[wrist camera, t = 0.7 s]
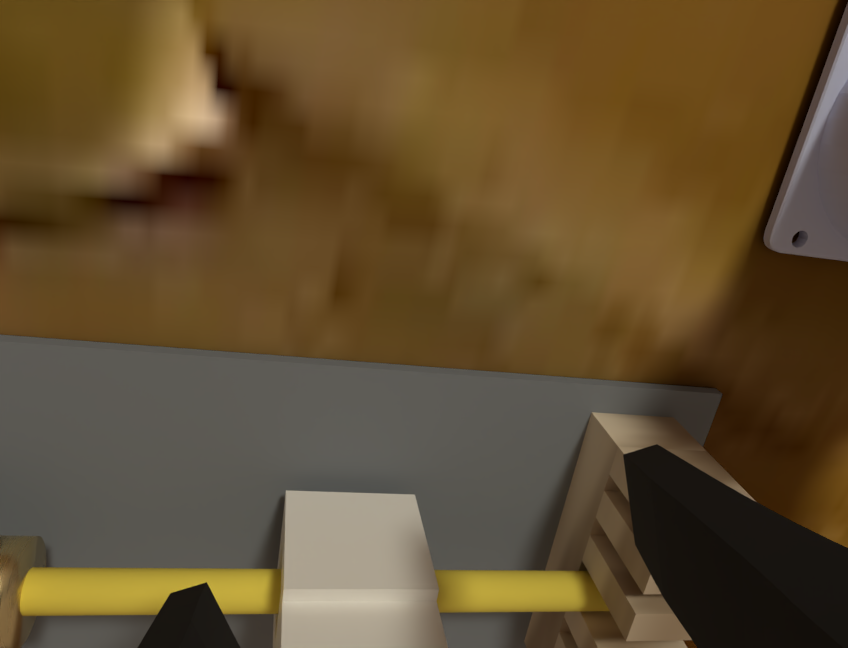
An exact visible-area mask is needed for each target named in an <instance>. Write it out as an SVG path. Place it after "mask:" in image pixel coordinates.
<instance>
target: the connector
mask: <svg viewBox="0 0 848 648" xmlns="http://www.w3.org/2000/svg"><path fill="white" fill-rule="evenodd" d="M32 567H46V548H45V543H44V540H43V539H42V537H40V536H9V535H0V648H21V647H22V645H23V644H24V643H25V641H26V640H27V638H28V636H29V634H30V632H31V630H32V627H33V625H34V622H35V619H36V616H22V615H21V612H20V599H21V592H22V588H23V584H24V581H25V578H26V575H27V573H28V571H29V570H30V569H31V568H32Z"/></svg>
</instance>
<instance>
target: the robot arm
mask: <svg viewBox="0 0 848 648" xmlns="http://www.w3.org/2000/svg"><path fill="white" fill-rule="evenodd" d="M797 232H799V237H798V238H797V240H796V241H795V242H793V243H792V238H793V236H794V235H795V234H796V233H797ZM763 239H764V244H765V245H766V246H767V248H769V249H771V250H773V251H776V252H779V253H785V254H793V255H801V256H809V257H816V258H824V259H832V260H840V261H848V3H847V5H846V8H845V11H844V14H843V16H842V19H841V22H840V25H839V28H838V30H837V33H836V36H835V39H834V41H833V44H832V47H831V50H830V52H829V55H828V58H827V61H826V63H825V66H824V69H823V72H822V75H821V77H820V80H819V83H818V86H817V88H816V91H815V94H814V97H813V99H812V102H811V105H810V108H809V110H808V113H807V116H806V119H805V121H804V124H803V127H802V130H801V133H800V135H799V138H798V141H797V144H796V146H795V149H794V152H793V155H792V157H791V160H790V163H789V166H788V168H787V171H786V174H785V177H784V180H783V182H782V185H781V188H780V191H779V193H778V196H777V199H776V202H775V204H774V207H773V210H772V213H771V215H770V218H769V221H768V224H767V227H766V229H765V232H764V237H763ZM623 458H624V466H625V473H626V481H627V488H628V496H629V503H630V511H631V518H632V526H633V533H634V541H635V545H636V547H637V549H638V551H639V553H640V555H641V557H642V559H643V561H644V563H645V565H646V566H647V568H648V570H649V572H650V574H651V576H652V578H653V580H654V581H655V583H656V585H657V587H658V589H659V591H660V592H661V594H662V596H663V598H664V599H665V601H666V602H667V604H668V605H669V607H670V608H671V610H672V611H673V613H674V614H675V616H676V617H677V619H678V620H679V621H680V623H681V624H682V626H683V627H684V629H685V630H686V632H687V633H688V635H689V636H690V637H691V639H692V640H693V642H694V643H695V645H696V646H697V648H848V548H846V547H844V546H842V545H840V544H838V543H836V542H833V541H831V540H829V539H827V538H825V537H823V536H821V535H819V534H817V533H815V532H813V531H811V530H809V529H807V528H805V527H803V526H801V525H798V524H796V523H795V522H793V521H791V520H789V519H787V518H785V517H783V516H781V515H779V514H777V513H776V512H774V511H772V510H770V509H768V508H766V507H765V506H763V505H761V504H759V503H757V502H755V501H754V500H752V499H750V498H748V497H746V496H744V495H743V494H741V493H739V492H737V491H736V490H734V489H732V488H730V487H729V486H727V485H725V484H724V483H722V482H720V481H719V480H717V479H715V478H713V477H712V476H710V475H708V474H707V473H705V472H703V471H702V470H700V469H698V468H697V467H695V466H693V465H692V464H690V463H688V462H687V461H685V460H683V459H681V458H680V457H678V456H676V455H675V454H673V453H671V452H670V451H668V450H666V449H665V448H663V447H661V446H659V445H658V444H656V445H653V446H649V447H646V448H643V449H640V450H636V451H633V452H630V453H627V454H623ZM138 648H240V646H239V644H238V642H237V640H236V638H235V636H234V634H233V632H232V630H231V628H230V626H229V624H228V623H227V621H226V619H225V617H224V615H223V613H222V611H221V609H220V607H219V605H218V603H217V601H216V599H215V597H214V595H213V593H212V591H211V589H210V587H209V585H208V584H207V582H206V583H202V584H199V585H196V586H192V587H189V588H186V589H183V590H179V591H176V592H173V593H170V595H169V596H168V598H167V600H166V601H165V603H164V604H163V606H162V608H161V609H160V611H159V613H158V614H157V616H156V618H155V619H154V621H153V623H152V624H151V626H150V628H149V629H148V631H147V633H146V634H145V636H144V638H143V639H142V641H141V643H140V644H139V646H138Z"/></svg>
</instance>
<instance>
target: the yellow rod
mask: <svg viewBox="0 0 848 648" xmlns="http://www.w3.org/2000/svg"><path fill="white" fill-rule="evenodd" d="M281 570H282V569H227V568H72V567H32V568H31V569H30V570H29V571H28V573H27V575H26V578H25V581H24V584H23V588H22V592H21V599H20V612H21V615H22V616H84V615H157V614H158V613H159V611H160V609H161V608H162V606H163V604H164V603H165V601H166V600H167V598H168V596H169V595H170V593H173V592H176V591H179V590H183V589H186V588H189V587H192V586H196V585H199V584H202V583H206V582H207V584H208V585H209V587H210V589H211V591H212V593H213V595H214V597H215V599H216V601H217V603H218V605H219V607H220V609H221V611H222V613H223V614H278V612H279V603H280V594H281ZM434 571H435V575H436V579H437V583H438V587H439V592H438V597H437V605H438V609H439V613H456V612H581V611H609V609H608V607H607V605H606V604H605V602H604V600H603V598H602V596H601V594H600V592H599V591H598V589H597V587H596V585H595V583H594V581H593V580H592V578H591V576H590V574H589V572H588V571H537V570H434Z"/></svg>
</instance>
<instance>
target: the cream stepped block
mask: <svg viewBox="0 0 848 648" xmlns="http://www.w3.org/2000/svg"><path fill="white" fill-rule="evenodd" d="M277 569H282V570H281V594H280V603H279V612H278V614H274V623H273V648H448V645H447V641H446V637H445V633H444V629H443V625H442V621H441V617H440V613H439V609H438V605H437V597H438V592H439V587H438V583H437V579H436V575H435V571H434V567H433V563H432V559H431V555H430V551H429V548H428V544H427V540H426V536H425V532H424V528H423V524H422V520H421V516H420V513H419V509H418V505H417V501H416V497H415V495H414V494H382V493H351V492H319V491H288V490H286V494H285V503H284V512H283V521H282V530H281V539H280V549H279V558H278V567H277Z"/></svg>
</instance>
